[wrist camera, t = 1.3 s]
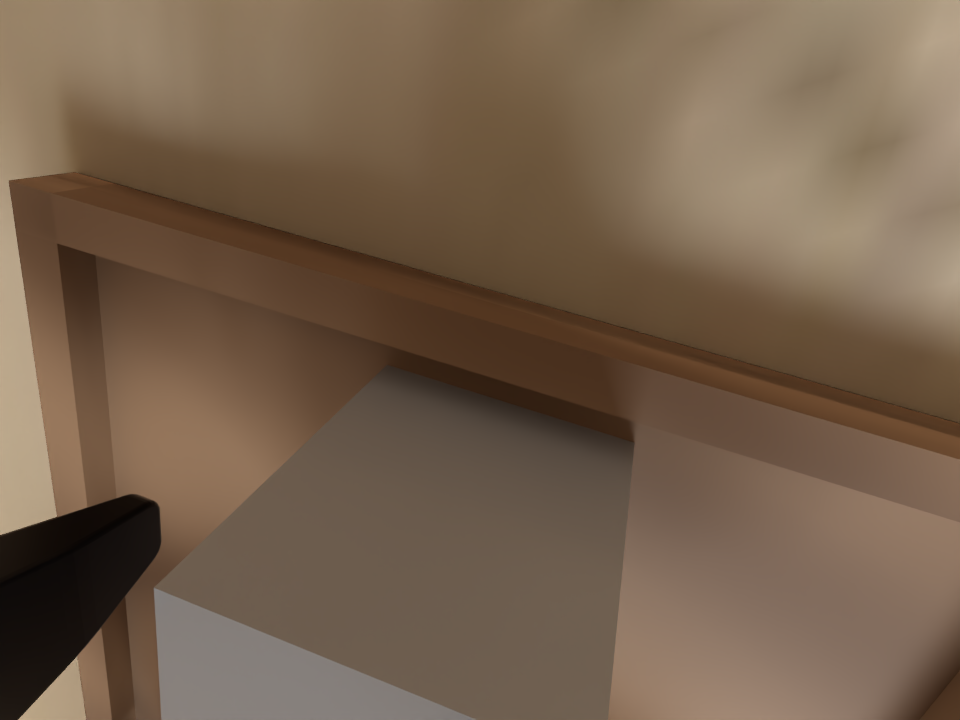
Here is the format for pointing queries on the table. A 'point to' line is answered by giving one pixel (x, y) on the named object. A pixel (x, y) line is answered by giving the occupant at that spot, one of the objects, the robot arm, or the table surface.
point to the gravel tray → (519, 381)
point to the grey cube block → (409, 571)
